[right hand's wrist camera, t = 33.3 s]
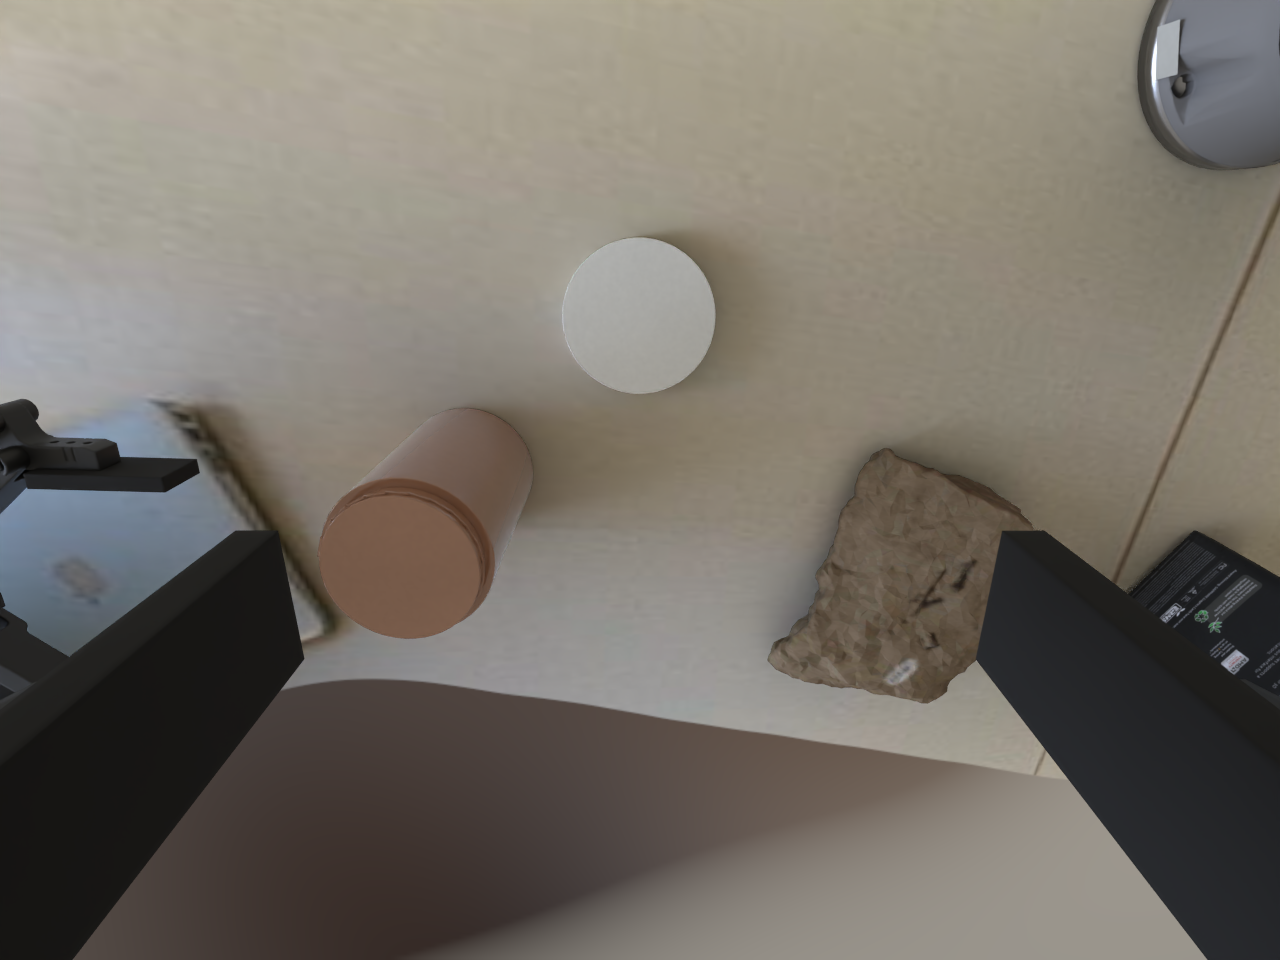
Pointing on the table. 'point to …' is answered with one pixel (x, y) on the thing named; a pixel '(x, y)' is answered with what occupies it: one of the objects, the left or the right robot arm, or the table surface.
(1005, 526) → the stone
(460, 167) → the table surface
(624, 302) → the lid
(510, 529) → the jar
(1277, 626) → the graphics card box
